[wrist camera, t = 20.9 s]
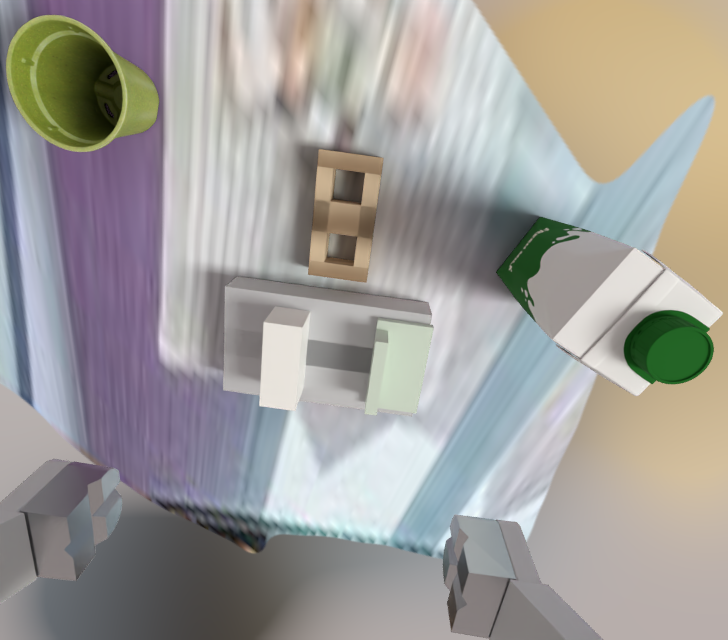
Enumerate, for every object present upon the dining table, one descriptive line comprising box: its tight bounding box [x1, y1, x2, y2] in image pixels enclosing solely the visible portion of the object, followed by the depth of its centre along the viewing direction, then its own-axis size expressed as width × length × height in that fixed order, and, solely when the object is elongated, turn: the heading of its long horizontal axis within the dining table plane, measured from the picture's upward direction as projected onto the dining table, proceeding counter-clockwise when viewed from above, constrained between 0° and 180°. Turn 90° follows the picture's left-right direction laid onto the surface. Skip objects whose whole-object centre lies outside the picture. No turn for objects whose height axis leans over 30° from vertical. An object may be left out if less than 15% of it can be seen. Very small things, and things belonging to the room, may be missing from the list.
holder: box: [308, 149, 383, 283], centre depth 43 cm, size 12×6×2 cm, turn 173°
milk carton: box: [496, 217, 723, 396], centre depth 36 cm, size 9×9×20 cm
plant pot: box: [6, 15, 159, 152], centre depth 38 cm, size 9×9×9 cm
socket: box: [223, 276, 432, 416], centre depth 48 cm, size 12×21×4 cm, turn 83°
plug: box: [259, 306, 310, 411], centre depth 45 cm, size 9×4×7 cm, turn 173°
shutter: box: [365, 318, 433, 415], centre depth 44 cm, size 10×6×4 cm, turn 173°
